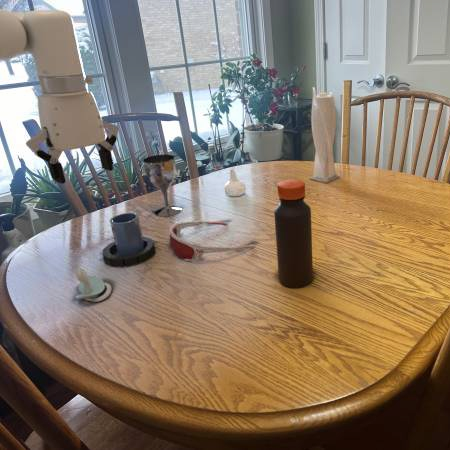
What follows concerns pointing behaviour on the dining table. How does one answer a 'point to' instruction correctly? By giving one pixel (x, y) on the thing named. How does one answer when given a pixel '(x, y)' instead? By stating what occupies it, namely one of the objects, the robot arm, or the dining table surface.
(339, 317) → the dining table surface
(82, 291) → the pacifier
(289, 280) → the bottle
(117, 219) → the cup
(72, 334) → the dining table surface
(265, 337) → the dining table surface
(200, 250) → the sunglasses
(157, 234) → the dining table surface
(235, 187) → the garlic bulb
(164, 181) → the wine glass
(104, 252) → the ring
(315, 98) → the skyscraper
